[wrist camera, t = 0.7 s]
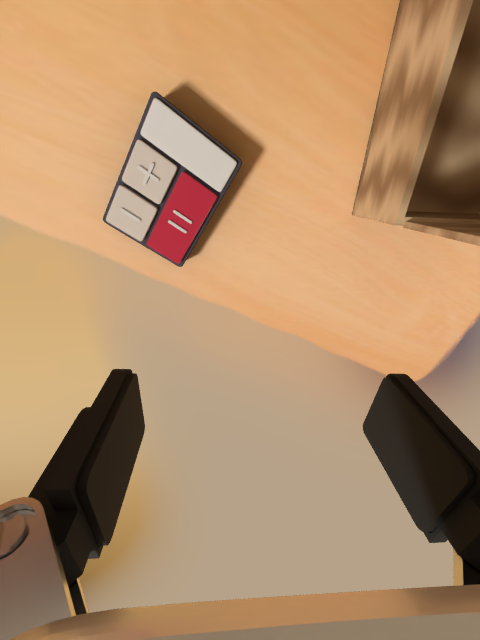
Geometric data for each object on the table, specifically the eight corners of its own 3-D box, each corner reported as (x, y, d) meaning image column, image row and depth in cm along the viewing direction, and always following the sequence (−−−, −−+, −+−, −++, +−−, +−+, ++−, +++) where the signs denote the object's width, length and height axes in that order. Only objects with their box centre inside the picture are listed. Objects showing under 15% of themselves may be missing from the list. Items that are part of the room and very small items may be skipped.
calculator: (98, 222, 31) (150, 86, 25) (112, 216, 35) (161, 97, 29) (180, 270, 34) (243, 161, 28) (185, 260, 38) (242, 162, 32)
